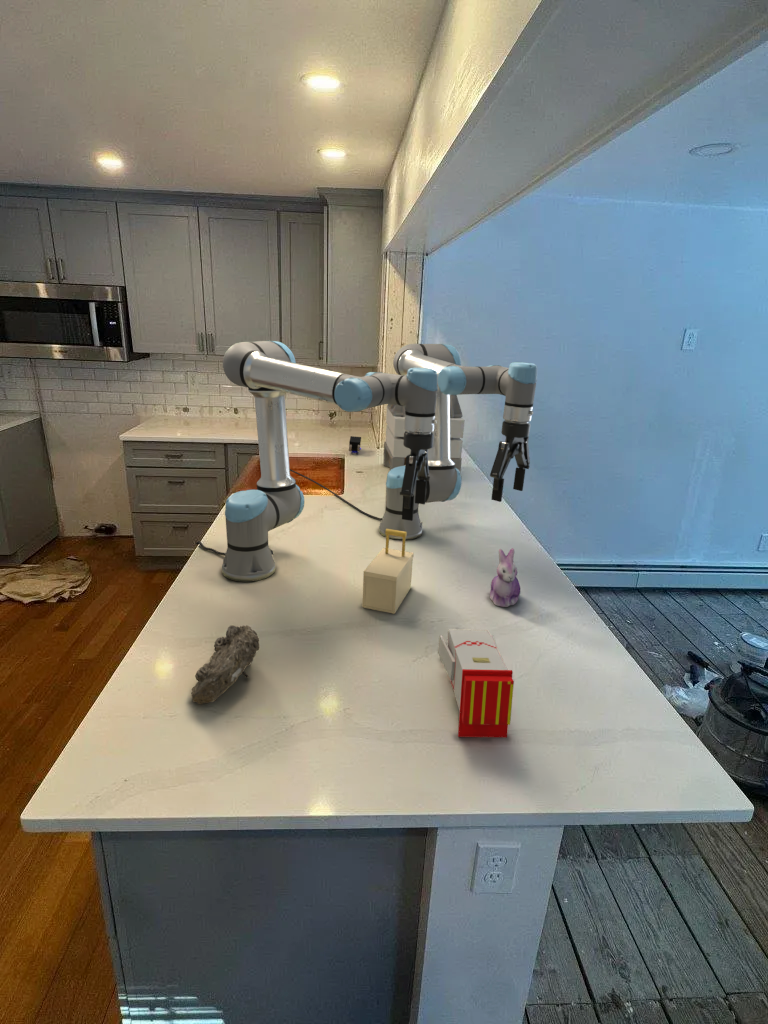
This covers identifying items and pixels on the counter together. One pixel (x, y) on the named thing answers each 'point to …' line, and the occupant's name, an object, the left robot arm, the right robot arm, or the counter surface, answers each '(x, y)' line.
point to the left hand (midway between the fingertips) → (413, 511)
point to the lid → (390, 560)
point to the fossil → (225, 663)
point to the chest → (386, 591)
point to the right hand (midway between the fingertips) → (507, 495)
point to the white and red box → (478, 682)
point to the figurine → (505, 581)
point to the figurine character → (354, 444)
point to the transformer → (395, 430)
